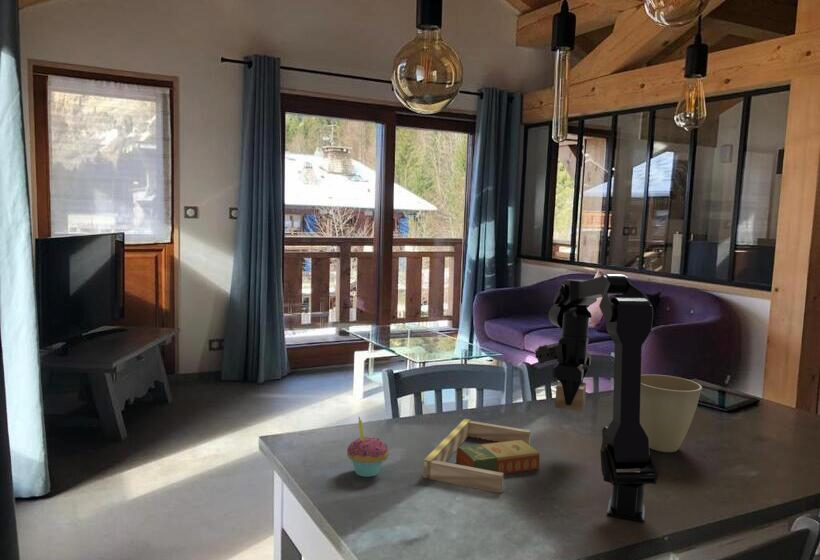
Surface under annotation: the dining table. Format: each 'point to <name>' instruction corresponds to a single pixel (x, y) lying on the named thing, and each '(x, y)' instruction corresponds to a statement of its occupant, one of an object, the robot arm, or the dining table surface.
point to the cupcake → (367, 454)
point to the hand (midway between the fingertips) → (570, 401)
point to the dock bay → (463, 474)
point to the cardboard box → (577, 401)
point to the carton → (499, 456)
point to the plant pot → (667, 409)
